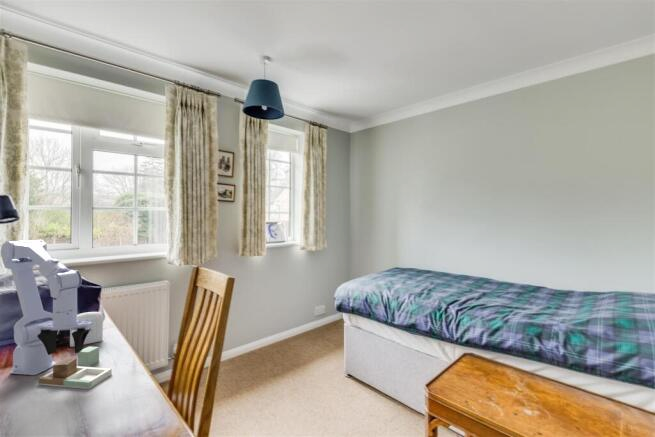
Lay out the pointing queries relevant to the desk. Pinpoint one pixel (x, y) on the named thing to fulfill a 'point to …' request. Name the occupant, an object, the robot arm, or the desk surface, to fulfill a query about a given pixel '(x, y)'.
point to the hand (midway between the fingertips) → (65, 352)
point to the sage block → (88, 356)
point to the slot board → (78, 378)
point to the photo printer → (95, 331)
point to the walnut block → (65, 368)
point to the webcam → (62, 338)
